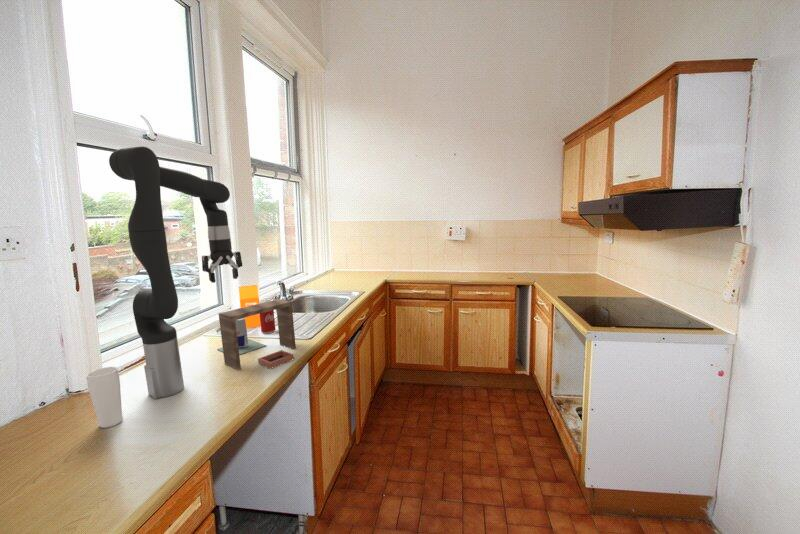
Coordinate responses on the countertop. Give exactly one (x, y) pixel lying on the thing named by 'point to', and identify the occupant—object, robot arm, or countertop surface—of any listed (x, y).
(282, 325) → the tunnel
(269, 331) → the beverage can
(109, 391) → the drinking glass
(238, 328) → the energy drink
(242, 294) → the orange juice
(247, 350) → the mat
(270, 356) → the pink tray
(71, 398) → the countertop surface
